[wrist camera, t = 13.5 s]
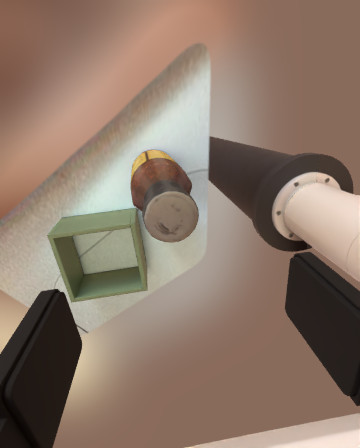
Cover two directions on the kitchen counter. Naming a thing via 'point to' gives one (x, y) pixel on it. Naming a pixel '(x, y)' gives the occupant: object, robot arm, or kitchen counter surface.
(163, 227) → the sauce bottle
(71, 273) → the caddy
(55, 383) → the robot arm
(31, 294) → the kitchen counter surface
